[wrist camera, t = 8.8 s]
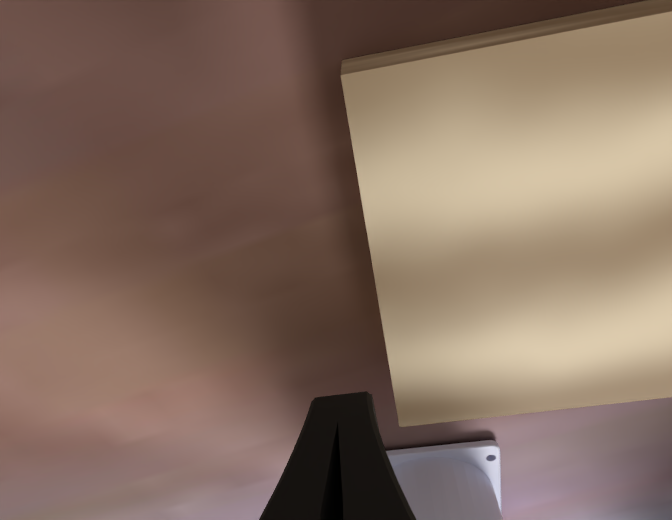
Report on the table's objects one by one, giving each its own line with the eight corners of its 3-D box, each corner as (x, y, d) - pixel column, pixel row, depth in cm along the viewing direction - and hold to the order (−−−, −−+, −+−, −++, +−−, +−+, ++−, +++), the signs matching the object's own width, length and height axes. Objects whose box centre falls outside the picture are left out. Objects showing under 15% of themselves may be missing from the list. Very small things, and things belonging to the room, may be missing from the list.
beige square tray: (693, 324, 21) (761, 387, 18) (391, 362, 23) (399, 427, 19) (772, -25, 15) (903, -34, 11) (341, 60, 16) (340, 75, 13)
